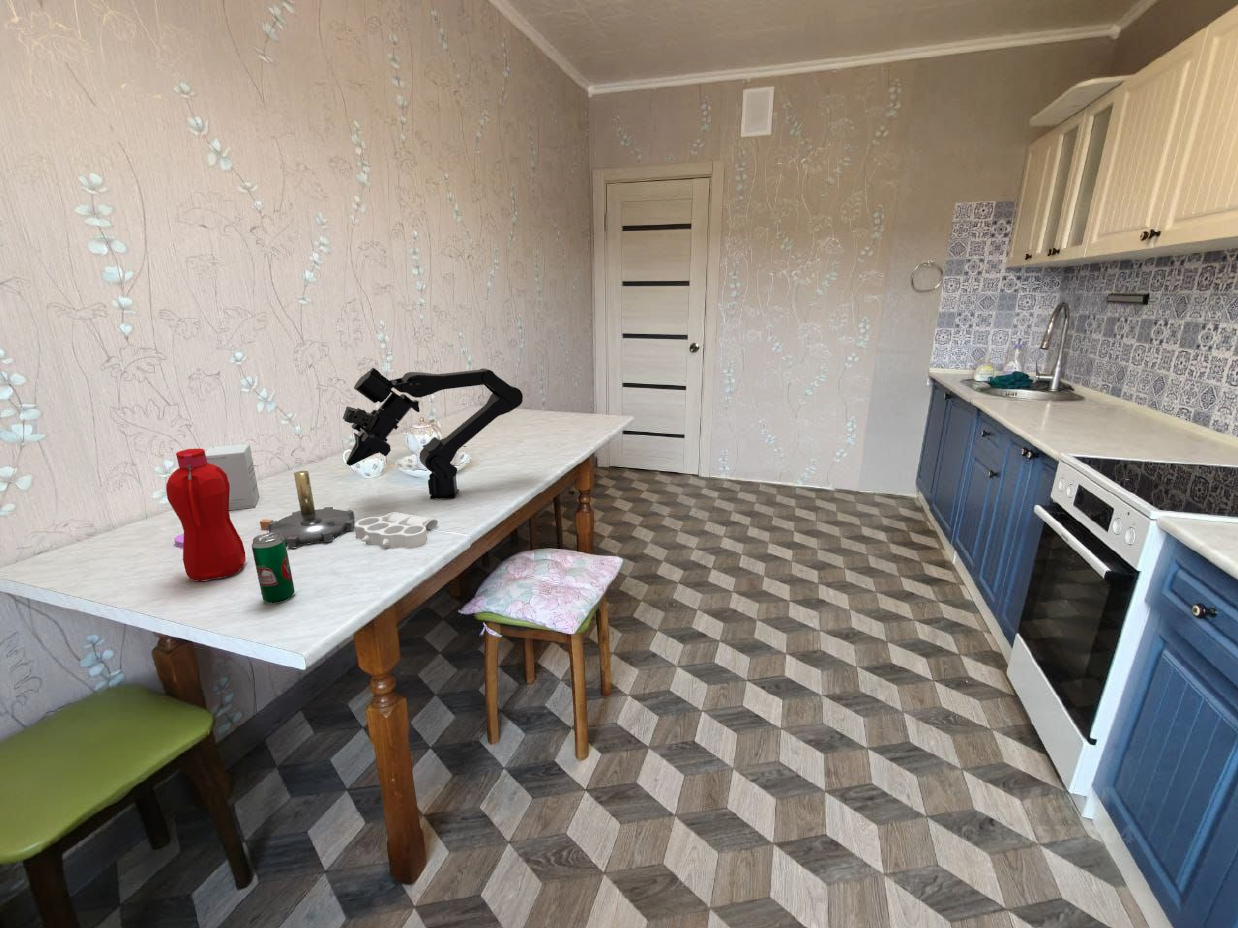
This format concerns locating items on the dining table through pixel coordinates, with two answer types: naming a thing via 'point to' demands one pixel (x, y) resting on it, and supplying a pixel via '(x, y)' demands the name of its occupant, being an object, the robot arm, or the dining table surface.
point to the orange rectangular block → (265, 524)
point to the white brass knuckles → (395, 530)
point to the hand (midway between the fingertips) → (347, 464)
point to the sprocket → (311, 519)
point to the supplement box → (237, 473)
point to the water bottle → (204, 517)
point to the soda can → (273, 567)
